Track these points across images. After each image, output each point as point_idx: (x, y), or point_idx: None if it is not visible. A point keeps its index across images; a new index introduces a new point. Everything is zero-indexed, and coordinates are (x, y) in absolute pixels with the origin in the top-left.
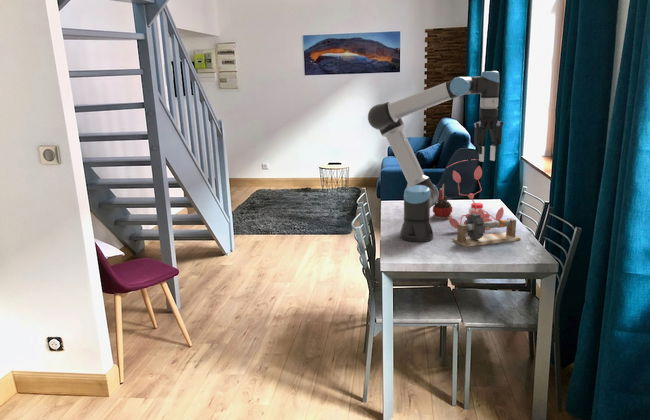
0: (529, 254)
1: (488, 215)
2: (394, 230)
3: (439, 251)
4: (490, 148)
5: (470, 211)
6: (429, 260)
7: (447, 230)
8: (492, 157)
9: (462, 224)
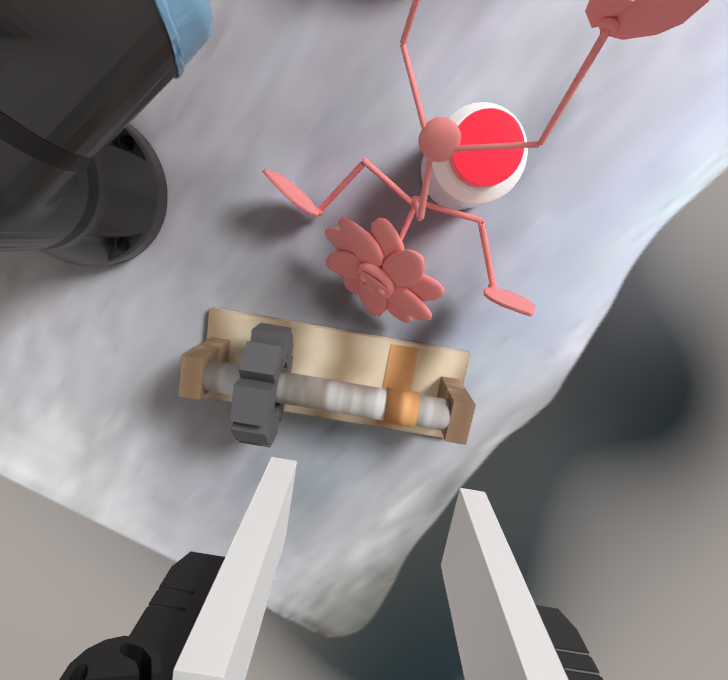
0: (347, 558)
1: (434, 295)
2: None
3: (91, 389)
4: (515, 655)
5: None
6: (10, 446)
7: (286, 164)
8: (455, 579)
9: (195, 375)
